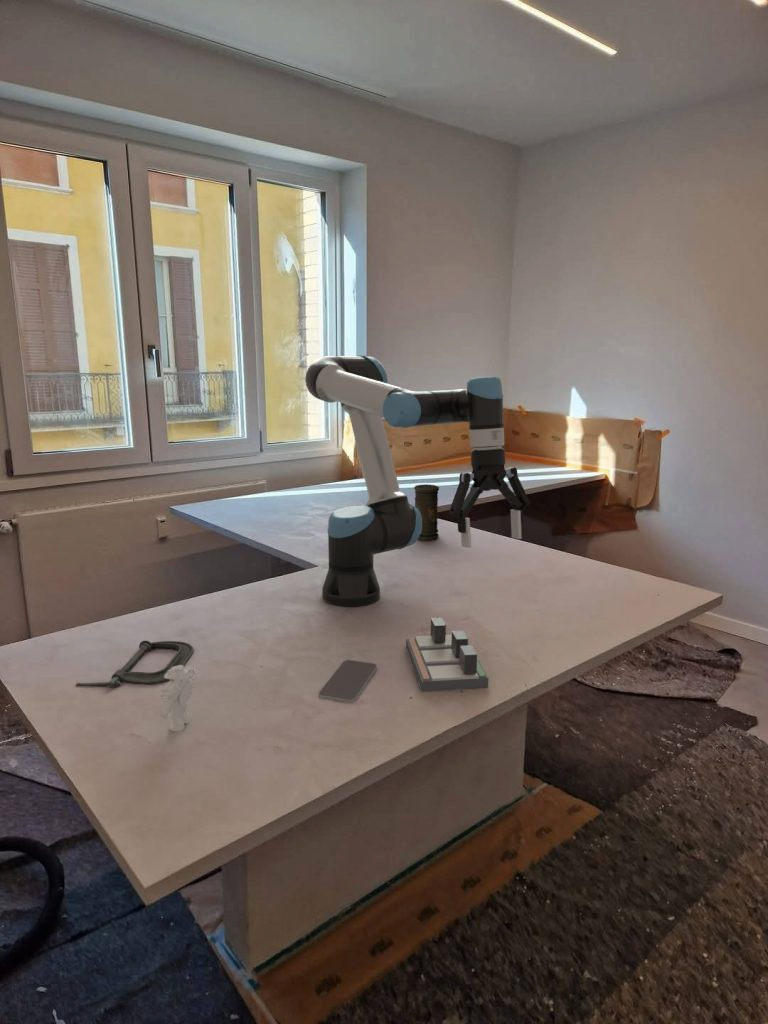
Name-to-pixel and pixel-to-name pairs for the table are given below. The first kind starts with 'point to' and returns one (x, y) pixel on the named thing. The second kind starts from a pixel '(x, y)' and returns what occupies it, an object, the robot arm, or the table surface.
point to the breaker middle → (458, 642)
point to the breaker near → (468, 659)
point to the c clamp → (148, 677)
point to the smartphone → (348, 681)
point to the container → (427, 510)
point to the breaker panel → (441, 666)
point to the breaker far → (438, 630)
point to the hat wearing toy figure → (178, 695)
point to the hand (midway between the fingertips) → (492, 542)
